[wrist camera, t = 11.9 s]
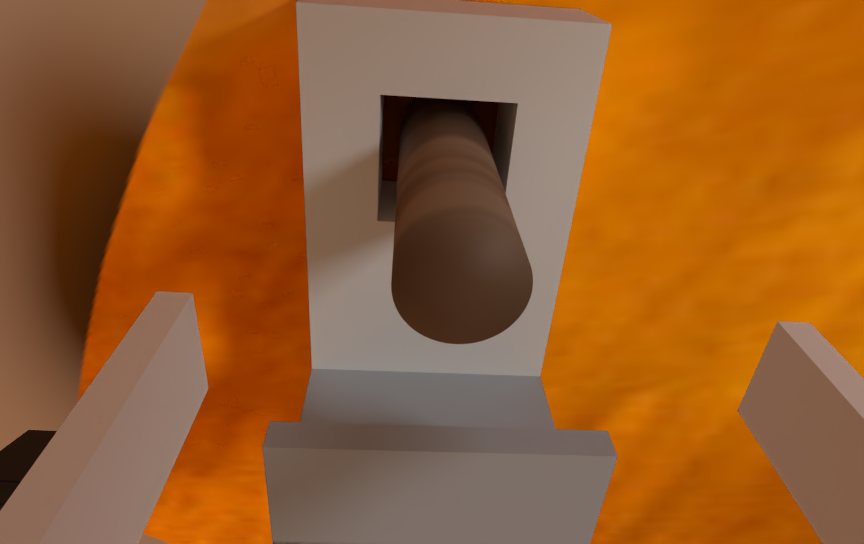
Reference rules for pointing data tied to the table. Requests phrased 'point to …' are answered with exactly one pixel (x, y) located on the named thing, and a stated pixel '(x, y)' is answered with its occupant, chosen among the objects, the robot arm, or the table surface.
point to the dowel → (454, 229)
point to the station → (374, 307)
